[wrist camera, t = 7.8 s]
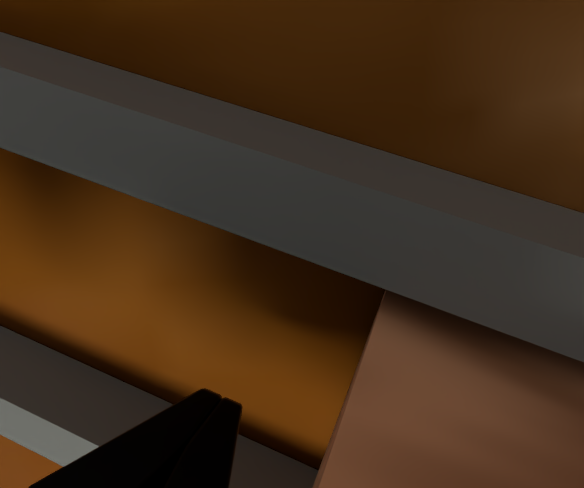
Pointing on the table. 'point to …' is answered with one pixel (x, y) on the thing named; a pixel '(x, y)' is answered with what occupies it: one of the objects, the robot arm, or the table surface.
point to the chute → (269, 231)
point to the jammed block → (455, 408)
